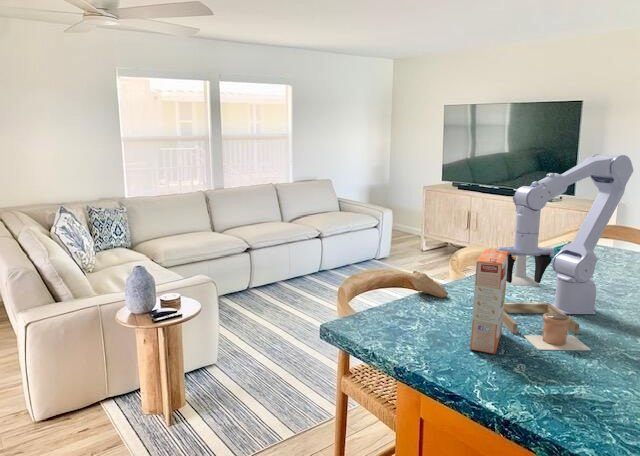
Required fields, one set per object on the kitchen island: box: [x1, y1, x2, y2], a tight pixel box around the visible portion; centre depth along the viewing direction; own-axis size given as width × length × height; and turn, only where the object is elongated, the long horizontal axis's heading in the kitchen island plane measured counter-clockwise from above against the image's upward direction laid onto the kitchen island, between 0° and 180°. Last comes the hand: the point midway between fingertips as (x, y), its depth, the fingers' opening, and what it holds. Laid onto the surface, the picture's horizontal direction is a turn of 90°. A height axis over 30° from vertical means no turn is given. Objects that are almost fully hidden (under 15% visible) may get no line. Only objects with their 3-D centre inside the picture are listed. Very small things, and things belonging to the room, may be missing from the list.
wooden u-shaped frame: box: [502, 302, 580, 335], centre depth 126 cm, size 16×16×2 cm
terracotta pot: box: [542, 313, 571, 345], centre depth 113 cm, size 6×6×6 cm
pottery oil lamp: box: [409, 270, 449, 299], centre depth 148 cm, size 9×12×7 cm
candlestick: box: [506, 256, 540, 287], centre depth 159 cm, size 13×13×30 cm
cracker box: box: [469, 248, 509, 355], centre depth 112 cm, size 14×6×21 cm, turn 154°
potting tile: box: [523, 334, 592, 351], centre depth 113 cm, size 12×8×1 cm, turn 89°
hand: (522, 281), depth 129 cm, fingers open, 7 cm apart
